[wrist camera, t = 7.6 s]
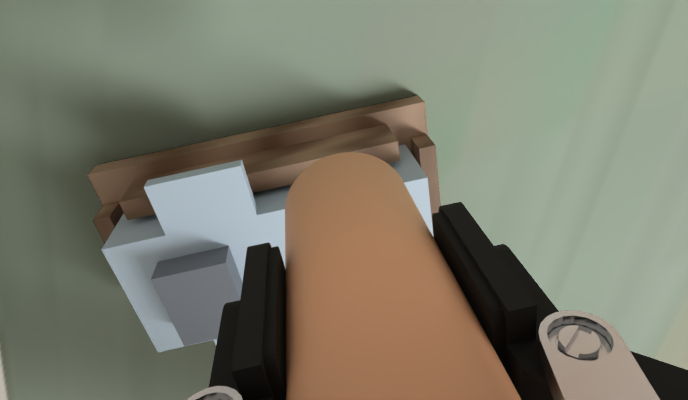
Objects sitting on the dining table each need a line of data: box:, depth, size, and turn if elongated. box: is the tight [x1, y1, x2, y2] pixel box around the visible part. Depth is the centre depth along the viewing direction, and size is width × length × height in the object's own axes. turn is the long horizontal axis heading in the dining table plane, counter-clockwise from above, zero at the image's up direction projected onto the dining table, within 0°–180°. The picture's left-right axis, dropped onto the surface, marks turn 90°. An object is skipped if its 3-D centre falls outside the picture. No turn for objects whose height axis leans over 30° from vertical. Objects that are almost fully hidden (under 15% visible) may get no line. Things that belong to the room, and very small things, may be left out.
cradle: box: [87, 95, 441, 243], centre depth 30 cm, size 21×13×4 cm, turn 100°
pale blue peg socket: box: [101, 144, 433, 352], centre depth 28 cm, size 18×14×7 cm
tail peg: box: [285, 152, 521, 400], centre depth 10 cm, size 4×4×10 cm
